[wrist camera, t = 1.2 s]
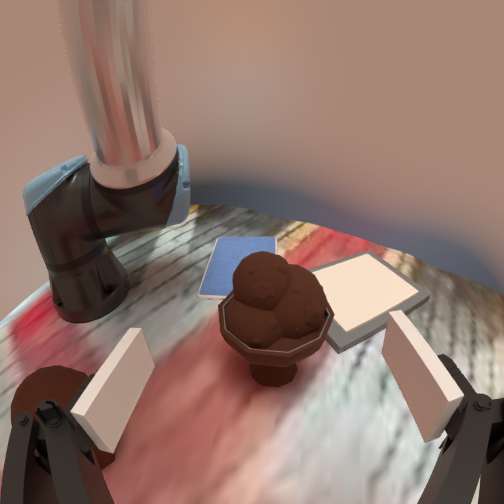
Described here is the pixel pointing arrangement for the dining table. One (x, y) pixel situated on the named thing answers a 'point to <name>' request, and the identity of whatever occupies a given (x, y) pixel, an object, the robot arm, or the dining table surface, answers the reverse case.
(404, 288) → the sheet
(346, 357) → the dining table surface
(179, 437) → the dining table surface
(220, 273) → the tablet computer
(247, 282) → the ice cream bowl
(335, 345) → the mat
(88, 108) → the robot arm
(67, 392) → the muffin
